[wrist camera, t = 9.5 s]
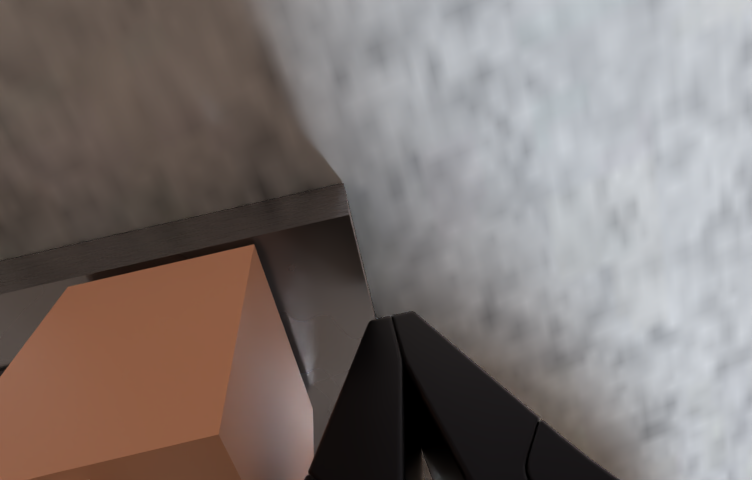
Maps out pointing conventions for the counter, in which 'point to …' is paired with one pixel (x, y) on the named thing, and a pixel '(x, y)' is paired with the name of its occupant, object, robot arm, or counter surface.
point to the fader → (159, 381)
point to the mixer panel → (217, 234)
